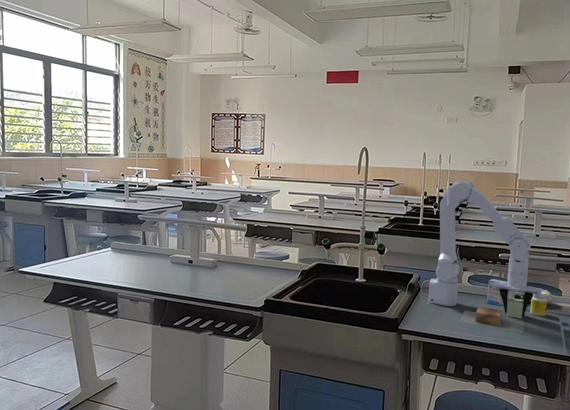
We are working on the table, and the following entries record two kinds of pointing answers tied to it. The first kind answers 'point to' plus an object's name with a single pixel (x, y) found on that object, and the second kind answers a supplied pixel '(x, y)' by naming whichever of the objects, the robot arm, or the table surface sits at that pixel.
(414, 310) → the table surface
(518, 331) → the board
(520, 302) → the sage brick
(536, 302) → the supplement bottle
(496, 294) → the medicine box
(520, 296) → the robot toy
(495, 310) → the walnut brick
